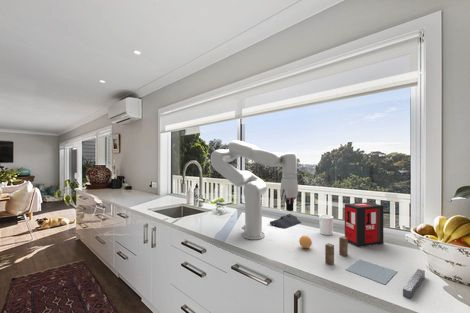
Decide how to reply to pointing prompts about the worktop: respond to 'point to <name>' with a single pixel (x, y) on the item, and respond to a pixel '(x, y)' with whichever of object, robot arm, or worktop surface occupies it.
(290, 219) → the dark slate chunk
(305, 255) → the worktop surface
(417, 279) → the wall
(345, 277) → the worktop surface
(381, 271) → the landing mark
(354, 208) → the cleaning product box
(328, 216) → the white cup
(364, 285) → the worktop surface
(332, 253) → the post
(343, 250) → the post
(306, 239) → the ball
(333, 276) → the worktop surface
